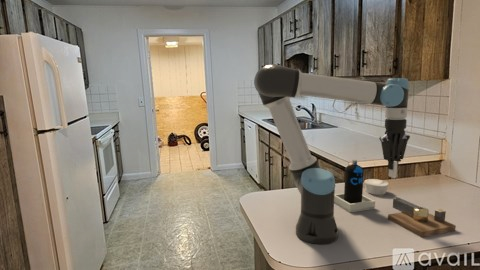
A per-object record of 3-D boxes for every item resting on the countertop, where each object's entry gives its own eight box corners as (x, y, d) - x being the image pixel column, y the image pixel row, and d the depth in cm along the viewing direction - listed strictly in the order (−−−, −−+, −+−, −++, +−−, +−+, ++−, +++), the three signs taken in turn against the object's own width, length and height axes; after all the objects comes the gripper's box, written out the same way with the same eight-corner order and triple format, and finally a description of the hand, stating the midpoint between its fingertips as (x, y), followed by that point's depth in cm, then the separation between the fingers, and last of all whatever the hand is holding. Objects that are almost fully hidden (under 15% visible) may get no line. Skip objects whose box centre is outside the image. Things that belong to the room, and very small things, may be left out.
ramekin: (390, 196, 150) (391, 186, 149) (366, 195, 152) (367, 185, 151) (383, 188, 161) (384, 179, 160) (361, 188, 163) (362, 178, 162)
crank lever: (431, 220, 117) (432, 210, 117) (421, 222, 116) (421, 212, 115) (398, 205, 133) (399, 196, 132) (389, 207, 131) (389, 198, 131)
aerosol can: (339, 201, 142) (341, 159, 139) (353, 198, 145) (355, 157, 141) (351, 207, 134) (353, 163, 131) (366, 204, 137) (369, 161, 134)
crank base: (421, 237, 110) (422, 221, 109) (387, 219, 125) (388, 204, 124) (455, 230, 114) (456, 214, 113) (418, 213, 129) (420, 199, 128)
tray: (349, 212, 132) (349, 204, 131) (332, 201, 144) (332, 194, 143) (374, 208, 135) (375, 201, 135) (355, 198, 148) (355, 191, 147)
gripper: (389, 120, 114) (386, 181, 118) (417, 118, 118) (413, 177, 122) (375, 118, 121) (372, 176, 125) (401, 116, 125) (398, 172, 129)
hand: (392, 176), depth 123 cm, fingers closed
